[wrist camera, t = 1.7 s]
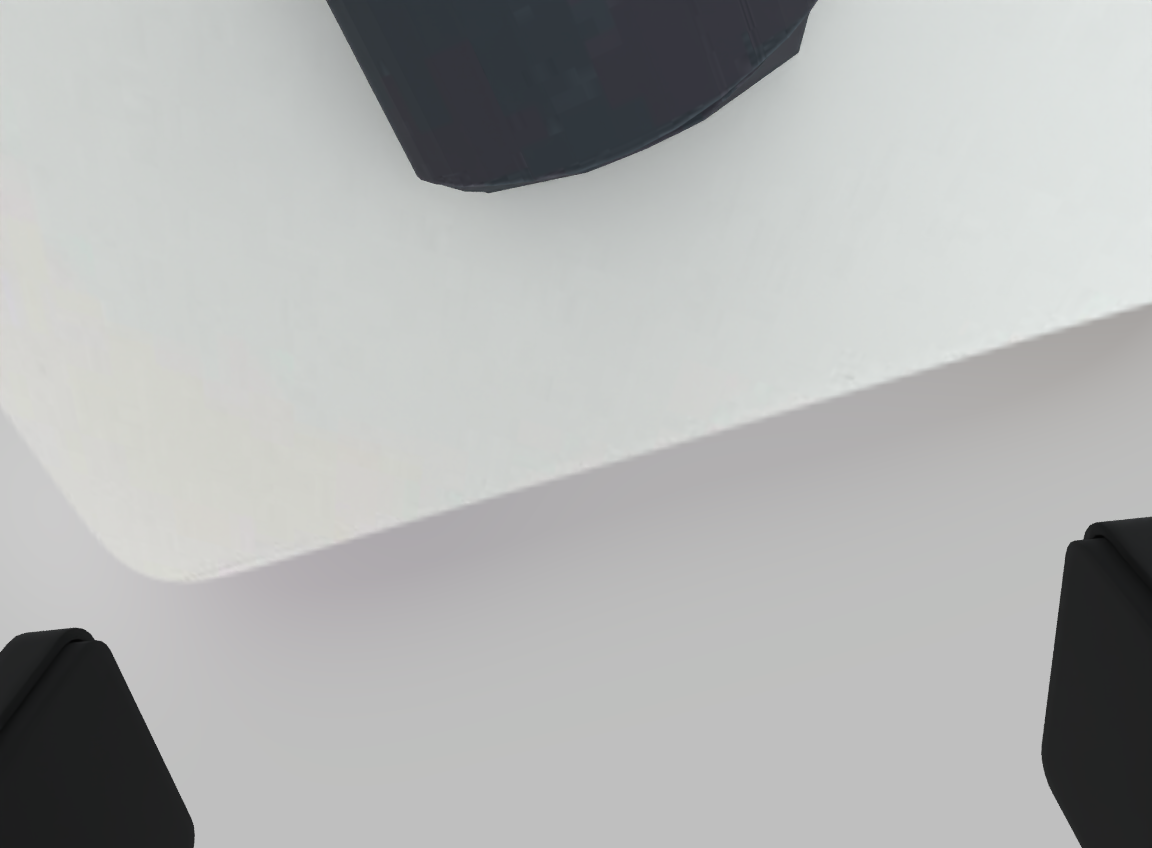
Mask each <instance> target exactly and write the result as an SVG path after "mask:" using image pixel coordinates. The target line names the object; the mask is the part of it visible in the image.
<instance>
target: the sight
mask: <svg viewBox="0 0 1152 848" xmlns="http://www.w3.org/2000/svg"><path fill="white" fill-rule="evenodd" d="M326 1H327V3H328V5H329V7H330V9H331V11H332V12H333V14H334V16H335V18H336V20H337V22H338V24H339V26H340V28H341V30H342V32H343V34H344V36H345V38H346V40H347V41H348V43H349V45H350V47H351V49H352V51H353V53H354V55H355V57H356V59H357V61H358V63H359V65H360V67H361V68H362V70H363V72H364V74H365V76H366V78H367V80H368V82H369V84H370V86H371V88H372V90H373V92H374V94H375V96H376V97H377V99H378V101H379V103H380V105H381V107H382V109H383V111H384V113H385V115H386V117H387V119H388V121H389V123H390V124H391V126H392V128H393V130H394V132H395V134H396V136H397V138H398V140H399V142H400V144H401V146H402V148H403V150H404V152H405V153H406V155H407V157H408V159H409V161H410V163H411V165H412V167H413V169H414V171H415V173H416V175H417V176H418V177H419V178H420V179H421V180H424V181H427V182H430V183H434V184H439V185H444V186H447V187H451V188H455V189H458V190H462V191H470V192H486V193H491V192H496V191H501V190H506V189H510V188H515V187H520V186H525V185H529V184H534V183H539V182H544V181H548V180H553V179H558V178H563V177H568V176H572V175H577V174H582V173H586V172H589V171H592V170H594V169H597V168H599V167H602V166H605V165H607V164H610V163H612V162H615V161H617V160H620V159H622V158H625V157H627V156H630V155H632V154H634V153H637V152H639V151H642V150H644V149H647V148H649V147H651V146H653V145H655V144H657V143H659V142H661V141H663V140H665V139H667V138H669V137H671V136H673V135H675V134H678V133H680V132H682V131H684V130H686V129H688V128H690V127H692V126H693V125H695V124H697V123H699V122H701V121H703V120H705V119H706V118H708V117H709V116H710V115H712V114H713V113H715V112H716V111H717V110H719V109H720V108H722V107H723V106H724V105H726V104H727V103H729V102H730V101H731V100H733V99H734V98H736V97H737V96H738V95H740V94H741V93H743V92H744V91H745V90H747V89H748V88H750V87H751V86H752V85H754V84H755V83H757V82H758V81H759V80H761V79H762V78H764V77H765V76H766V75H768V74H769V73H771V72H772V71H773V70H775V69H776V68H778V67H779V66H780V65H782V64H783V63H785V62H786V61H787V60H789V59H790V58H791V57H793V56H794V55H796V54H797V53H798V52H799V49H800V45H801V41H802V38H803V34H804V30H805V27H806V23H807V19H808V16H809V13H810V11H811V9H812V8H813V6H814V5H815V3H816V2H817V1H818V0H326Z"/></svg>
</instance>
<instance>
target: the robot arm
mask: <svg viewBox="0 0 1152 848" xmlns="http://www.w3.org/2000/svg"><path fill="white" fill-rule="evenodd" d="M1041 755H1042V763H1043V768H1044V772H1045V776H1046V778H1047V782H1048V784H1049V786H1050V789H1051V791H1052V793H1053V795H1054V796H1055V798H1056V800H1057V802H1058V804H1059V806H1060V808H1061V810H1062V811H1063V813H1064V815H1065V817H1066V819H1067V821H1068V823H1069V824H1070V826H1071V828H1072V830H1073V832H1074V834H1075V836H1076V838H1077V839H1078V841H1079V843H1080V845H1081V847H1082V848H1152V517H1145V518H1135V519H1125V520H1116V521H1106V522H1097V523H1094V524H1092V525H1090V526H1089V527H1088V529H1087V530H1086V532H1085V535H1084V539H1083V540H1077V541H1073V542H1071V543H1070V544H1069V546H1068V547H1067V552H1066V556H1065V565H1064V572H1063V581H1062V588H1061V596H1060V604H1059V612H1058V621H1057V628H1056V636H1055V644H1054V652H1053V660H1052V668H1051V676H1050V684H1049V692H1048V700H1047V708H1046V716H1045V724H1044V733H1043V740H1042V752H1041ZM194 837H195V834H194V825H193V822H192V819H191V817H190V815H189V813H188V811H187V808H186V806H185V804H184V802H183V800H182V798H181V796H180V794H179V792H178V790H177V788H176V786H175V783H174V781H173V779H172V777H171V775H170V773H169V771H168V769H167V767H166V765H165V763H164V761H163V759H162V756H161V755H160V752H159V750H158V748H157V746H156V744H155V742H154V740H153V738H152V736H151V734H150V731H149V729H148V727H147V725H146V723H145V721H144V719H143V717H142V715H141V713H140V711H139V709H138V707H137V704H136V703H135V701H134V698H133V696H132V694H131V692H130V690H129V688H128V686H127V684H126V682H125V680H124V677H123V676H122V673H121V671H120V669H119V667H118V665H117V663H116V661H115V659H114V657H113V655H112V653H111V651H110V649H109V648H108V646H107V645H106V644H105V643H103V642H102V641H97V640H94V638H93V637H92V635H91V634H90V633H89V632H87V631H86V630H84V629H81V628H69V629H58V630H49V631H39V632H29V633H24V634H21V635H18V636H16V637H15V638H13V639H12V640H11V641H10V642H9V643H8V644H7V645H6V646H5V647H4V649H3V650H2V651H1V652H0V848H193V847H194Z"/></svg>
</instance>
